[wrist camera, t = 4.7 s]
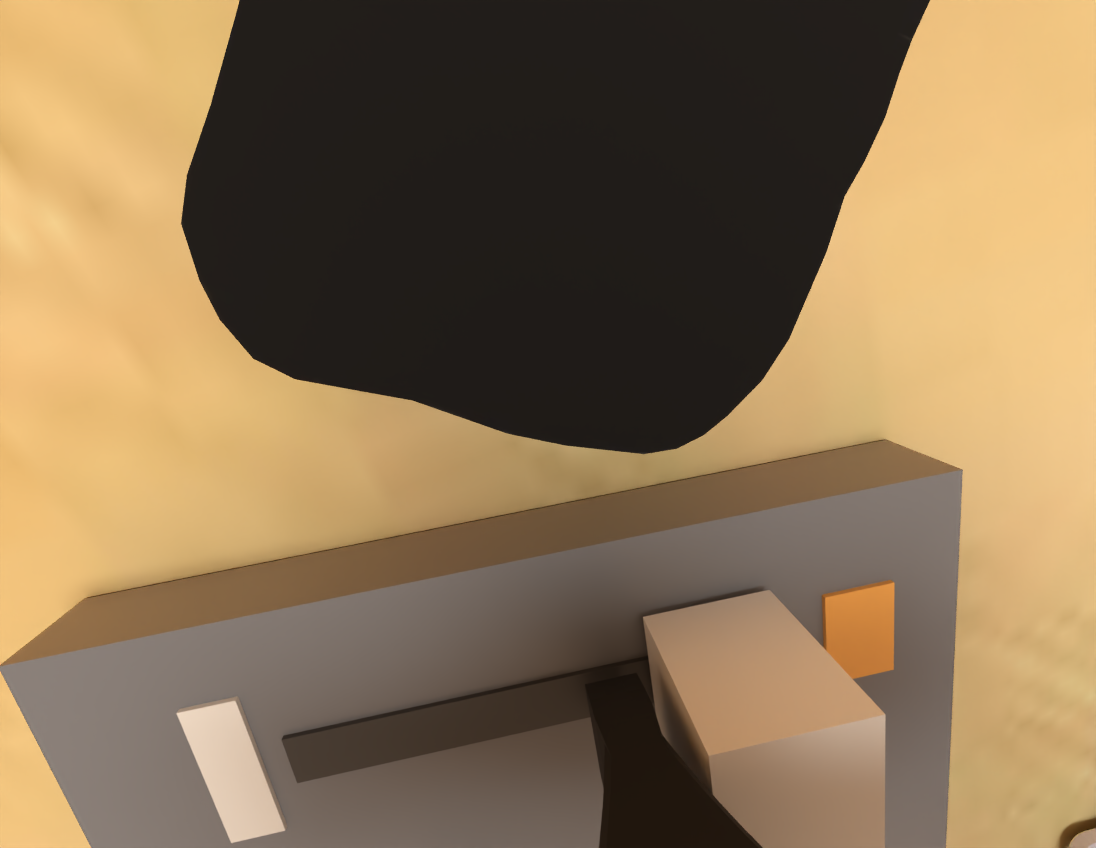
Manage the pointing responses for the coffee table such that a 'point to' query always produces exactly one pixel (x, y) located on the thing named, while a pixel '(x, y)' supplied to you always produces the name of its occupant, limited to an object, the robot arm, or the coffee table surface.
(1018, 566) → the coffee table surface
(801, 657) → the block
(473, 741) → the grey flat block
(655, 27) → the black sponge
